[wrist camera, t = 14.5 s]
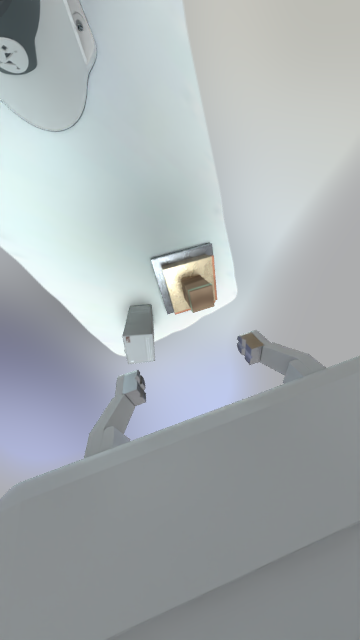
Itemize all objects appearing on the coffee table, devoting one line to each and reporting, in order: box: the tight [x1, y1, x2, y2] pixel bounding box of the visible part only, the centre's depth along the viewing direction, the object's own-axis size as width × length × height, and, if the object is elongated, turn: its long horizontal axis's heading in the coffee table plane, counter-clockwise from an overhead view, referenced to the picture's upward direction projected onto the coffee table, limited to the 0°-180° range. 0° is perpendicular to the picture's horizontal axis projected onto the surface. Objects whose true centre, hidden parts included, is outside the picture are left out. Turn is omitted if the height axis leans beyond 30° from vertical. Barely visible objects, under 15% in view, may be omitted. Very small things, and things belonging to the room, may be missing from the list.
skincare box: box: [122, 305, 155, 364], centre depth 40 cm, size 8×7×16 cm
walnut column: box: [181, 275, 214, 313], centre depth 35 cm, size 5×5×8 cm
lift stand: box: [151, 243, 217, 314], centre depth 41 cm, size 16×16×6 cm
